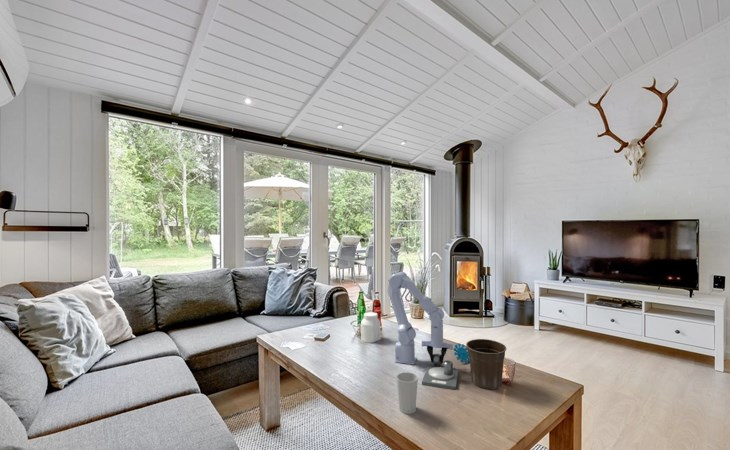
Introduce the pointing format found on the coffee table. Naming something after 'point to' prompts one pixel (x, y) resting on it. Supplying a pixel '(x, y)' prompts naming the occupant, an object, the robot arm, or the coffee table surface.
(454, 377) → the scale
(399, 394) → the cup
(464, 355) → the gear
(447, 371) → the cylinder
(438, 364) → the spacer
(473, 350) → the plant pot
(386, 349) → the coffee table surface
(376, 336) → the jar
